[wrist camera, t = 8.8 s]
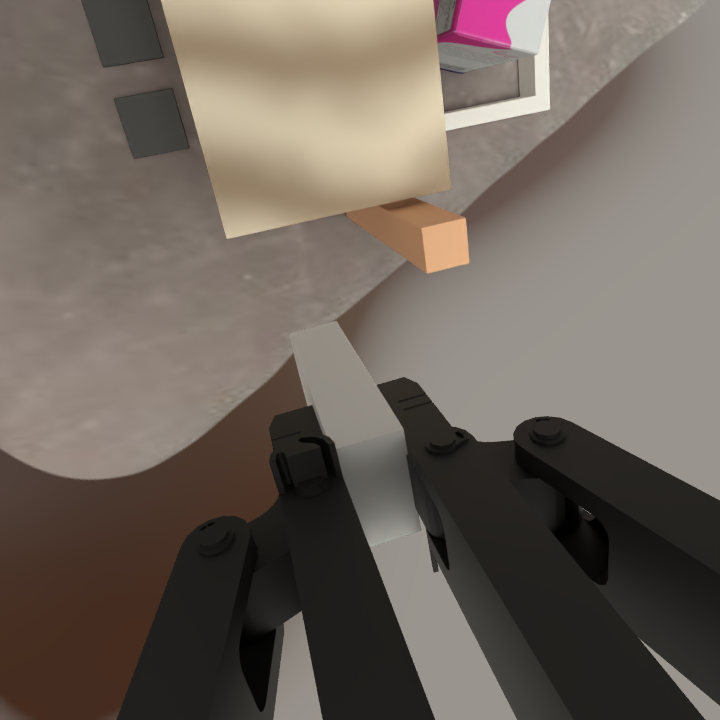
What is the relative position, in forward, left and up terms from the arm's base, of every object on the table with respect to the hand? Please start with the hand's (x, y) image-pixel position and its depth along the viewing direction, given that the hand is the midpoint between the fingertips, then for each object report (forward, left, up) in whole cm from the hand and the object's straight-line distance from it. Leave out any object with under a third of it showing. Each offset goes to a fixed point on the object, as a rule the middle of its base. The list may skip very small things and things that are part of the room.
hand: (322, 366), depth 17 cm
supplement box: (-11, +17, -31) cm, 37 cm away
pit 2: (-8, -5, -30) cm, 32 cm away
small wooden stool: (-10, +5, -30) cm, 32 cm away
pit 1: (-14, -5, -30) cm, 34 cm away
